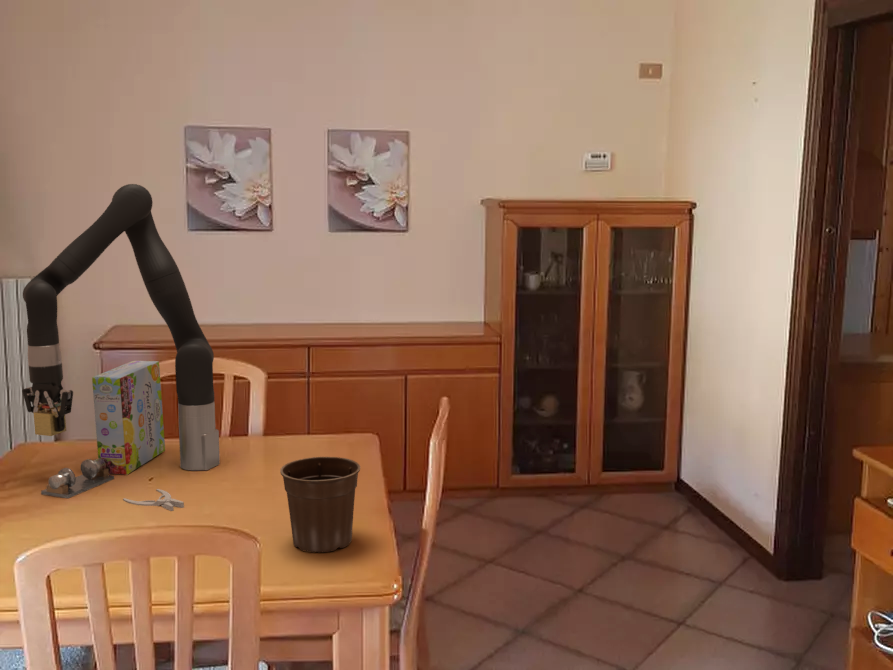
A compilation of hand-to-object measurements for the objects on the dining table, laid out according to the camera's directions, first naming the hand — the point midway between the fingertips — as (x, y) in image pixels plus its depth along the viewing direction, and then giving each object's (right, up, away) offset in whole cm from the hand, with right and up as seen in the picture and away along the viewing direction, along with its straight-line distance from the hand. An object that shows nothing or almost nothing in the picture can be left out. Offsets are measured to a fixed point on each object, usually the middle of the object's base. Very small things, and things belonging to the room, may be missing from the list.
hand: (50, 429), depth 227 cm
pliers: (+31, -16, -12) cm, 37 cm away
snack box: (+14, -11, +18) cm, 25 cm away
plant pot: (+72, -20, -36) cm, 82 cm away
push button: (0, -1, 0) cm, 1 cm away
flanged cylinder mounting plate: (+8, -14, -2) cm, 16 cm away
